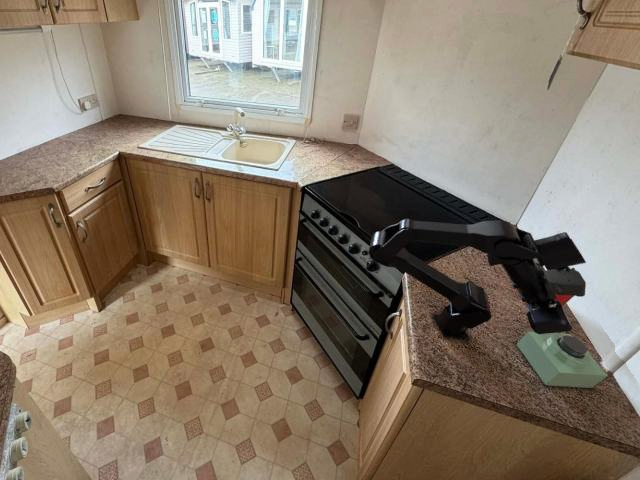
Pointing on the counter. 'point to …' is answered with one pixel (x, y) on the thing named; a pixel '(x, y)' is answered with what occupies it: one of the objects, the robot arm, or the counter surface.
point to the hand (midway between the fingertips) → (554, 322)
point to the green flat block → (559, 362)
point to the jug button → (572, 346)
